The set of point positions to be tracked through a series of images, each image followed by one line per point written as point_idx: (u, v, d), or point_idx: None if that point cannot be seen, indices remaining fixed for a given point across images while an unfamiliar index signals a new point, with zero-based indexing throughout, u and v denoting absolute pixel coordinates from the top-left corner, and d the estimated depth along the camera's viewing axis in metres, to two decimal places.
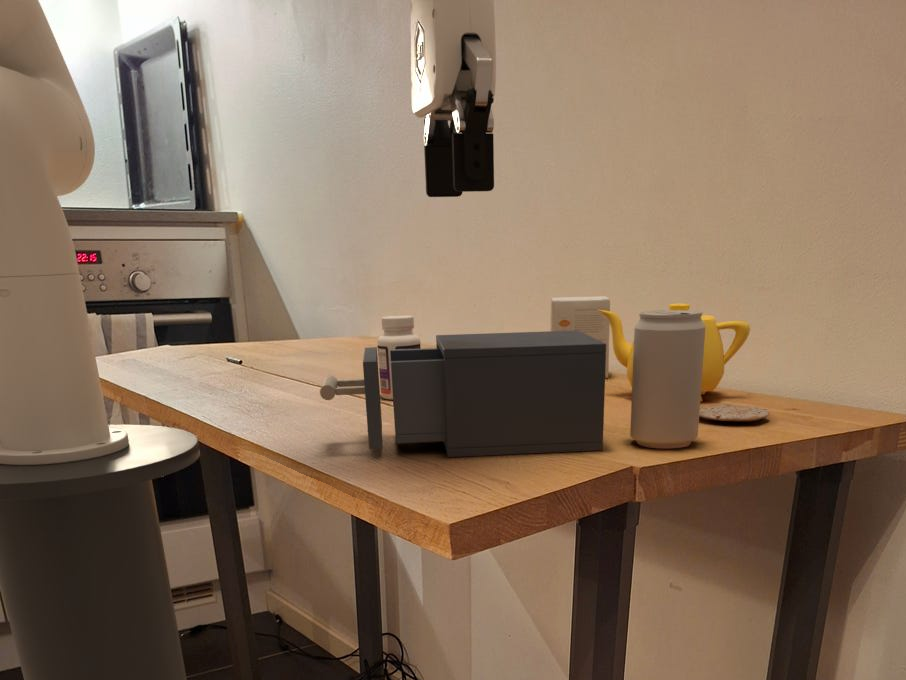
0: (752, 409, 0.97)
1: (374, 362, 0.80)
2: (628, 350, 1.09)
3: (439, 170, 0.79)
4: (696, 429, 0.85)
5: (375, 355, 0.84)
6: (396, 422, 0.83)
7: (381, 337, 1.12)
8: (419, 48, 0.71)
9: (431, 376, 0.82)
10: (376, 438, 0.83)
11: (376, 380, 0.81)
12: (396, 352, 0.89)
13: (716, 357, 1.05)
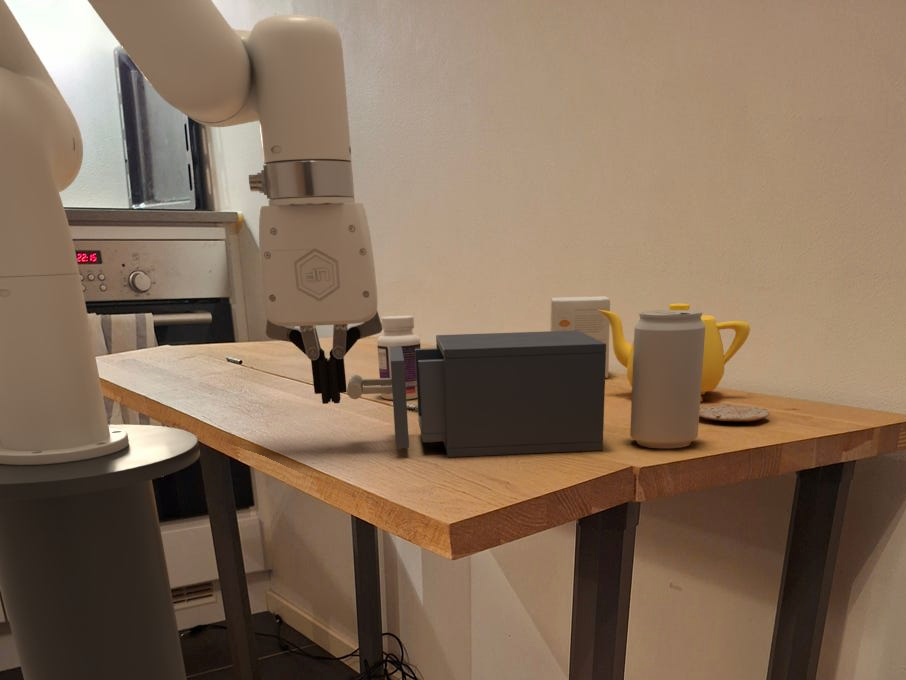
0: (752, 409, 0.97)
1: (402, 361, 0.80)
2: (628, 350, 1.09)
3: (328, 380, 0.85)
4: (696, 429, 0.85)
5: (402, 354, 0.84)
6: (423, 421, 0.83)
7: (381, 337, 1.12)
8: (317, 272, 0.79)
9: None
10: (403, 437, 0.83)
11: (404, 379, 0.81)
12: (421, 351, 0.90)
13: (716, 357, 1.05)
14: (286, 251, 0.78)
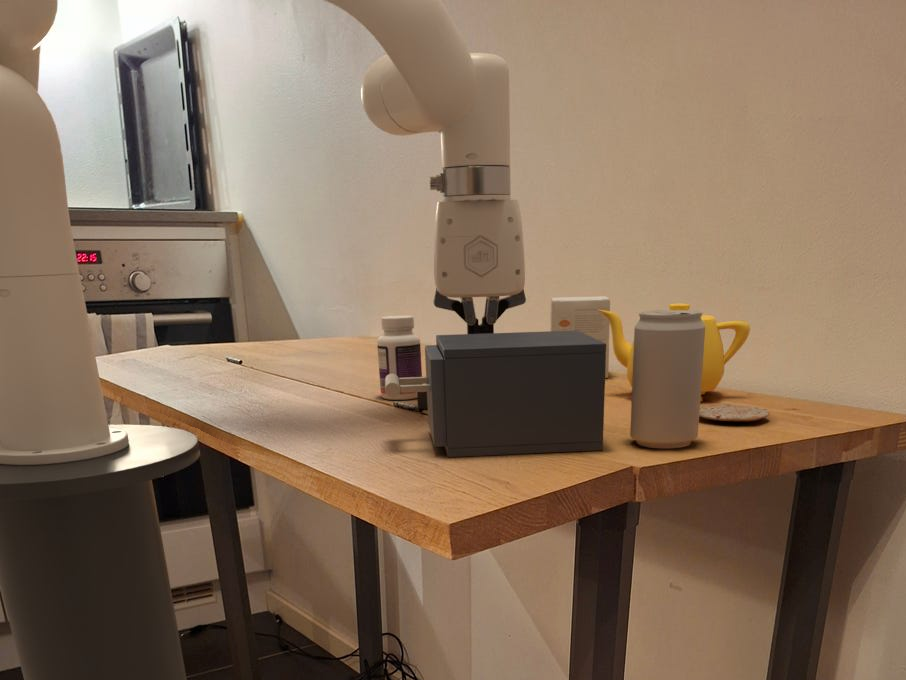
0: (752, 409, 0.97)
1: (441, 360, 0.80)
2: (628, 350, 1.09)
3: None
4: (696, 429, 0.85)
5: (439, 353, 0.84)
6: None
7: (381, 337, 1.12)
8: (481, 254, 1.00)
9: None
10: (441, 435, 0.83)
11: (443, 377, 0.81)
12: None
13: (716, 357, 1.05)
14: (458, 237, 0.99)
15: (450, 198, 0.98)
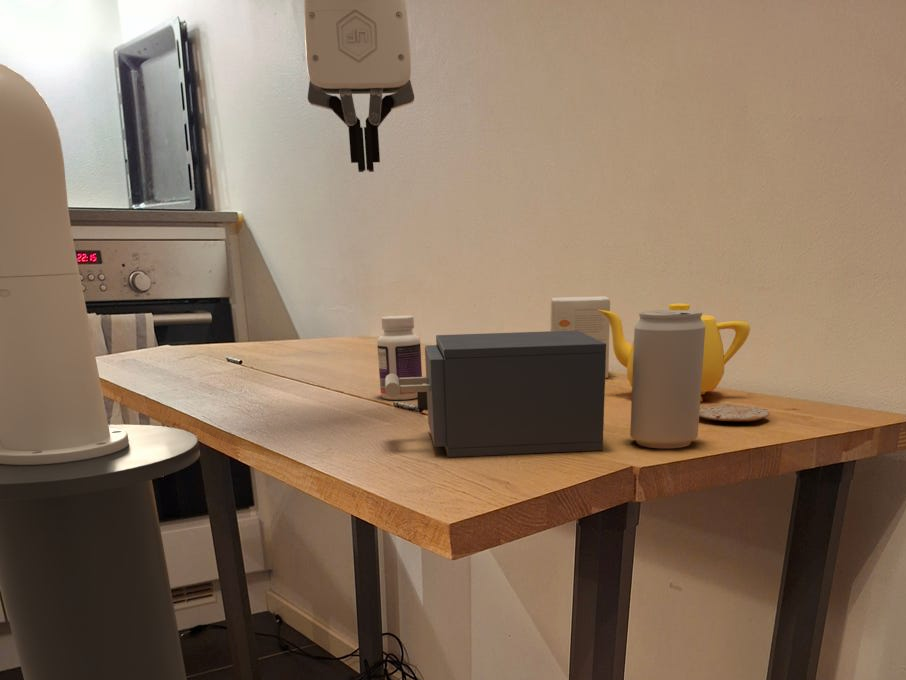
0: (752, 409, 0.97)
1: (441, 360, 0.80)
2: (628, 350, 1.09)
3: None
4: (696, 429, 0.85)
5: (439, 353, 0.84)
6: None
7: (381, 337, 1.12)
8: (357, 34, 0.87)
9: None
10: (441, 435, 0.83)
11: (443, 377, 0.81)
12: None
13: (716, 357, 1.05)
14: (329, 11, 0.86)
15: None
